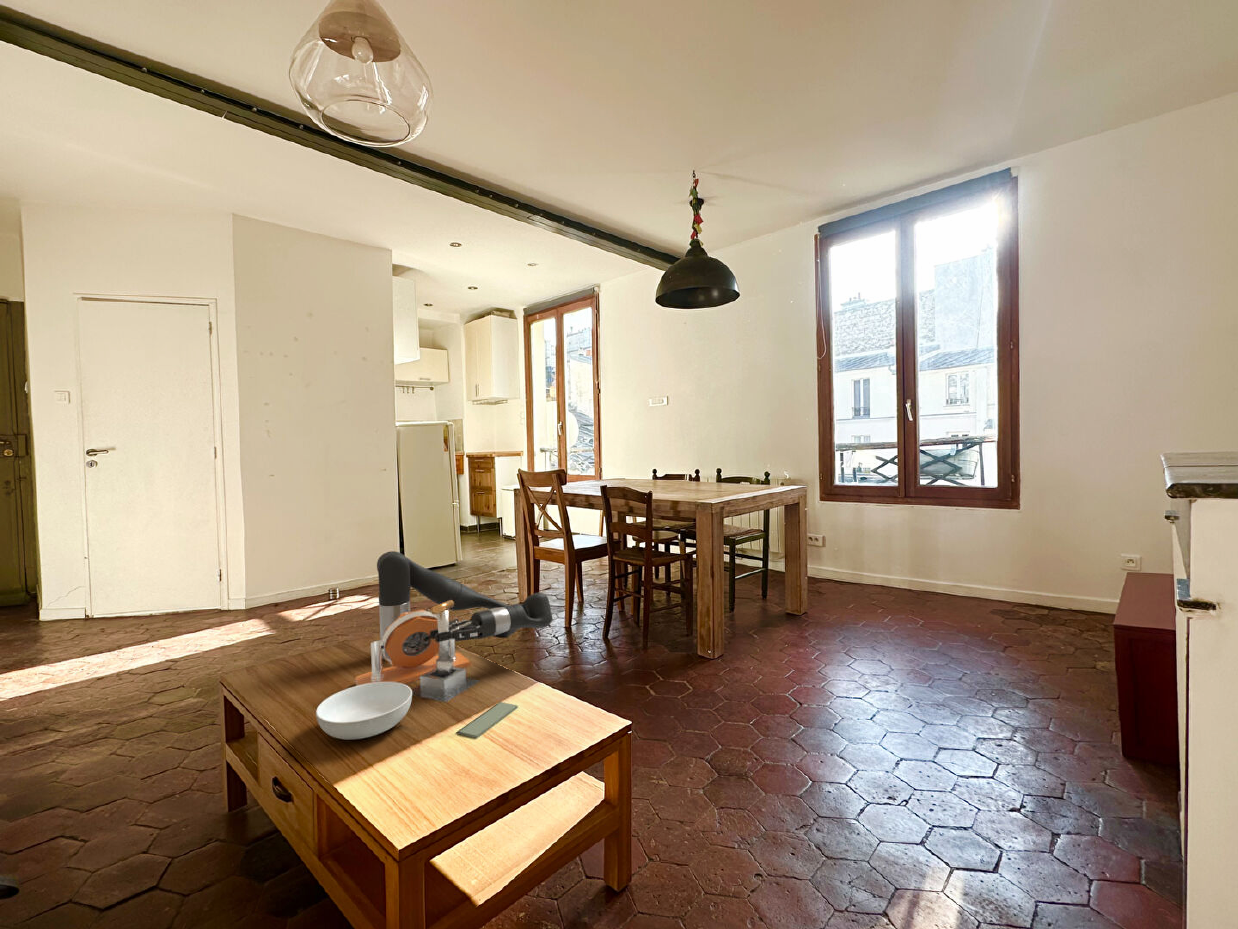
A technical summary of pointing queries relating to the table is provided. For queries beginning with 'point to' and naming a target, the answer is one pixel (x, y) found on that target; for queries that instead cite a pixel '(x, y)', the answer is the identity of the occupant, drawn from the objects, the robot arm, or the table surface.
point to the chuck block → (443, 684)
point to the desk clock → (408, 650)
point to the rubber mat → (487, 720)
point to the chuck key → (444, 661)
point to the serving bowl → (364, 710)
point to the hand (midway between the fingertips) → (433, 636)
